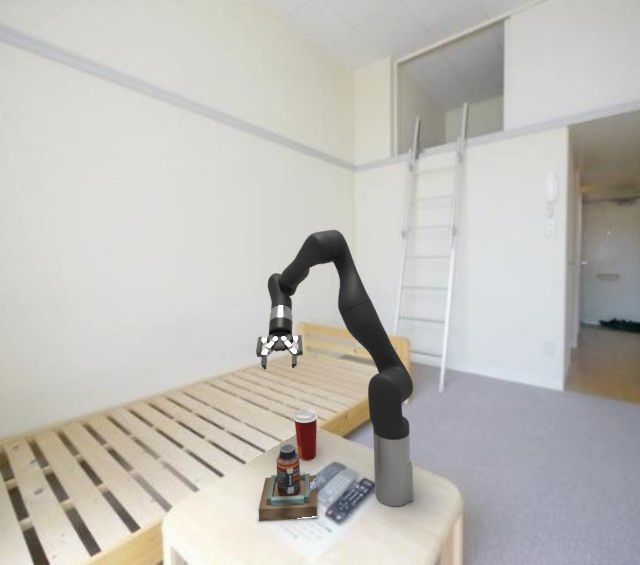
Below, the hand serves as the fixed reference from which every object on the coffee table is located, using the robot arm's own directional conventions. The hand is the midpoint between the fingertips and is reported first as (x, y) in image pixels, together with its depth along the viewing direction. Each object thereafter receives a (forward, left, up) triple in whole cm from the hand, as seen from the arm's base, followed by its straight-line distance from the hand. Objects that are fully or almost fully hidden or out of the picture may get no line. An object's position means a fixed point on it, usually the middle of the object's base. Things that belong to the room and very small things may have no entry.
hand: (278, 367), depth 102 cm
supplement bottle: (-3, +15, -28) cm, 32 cm away
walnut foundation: (-3, +16, -31) cm, 35 cm away
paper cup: (-7, -5, -31) cm, 32 cm away
